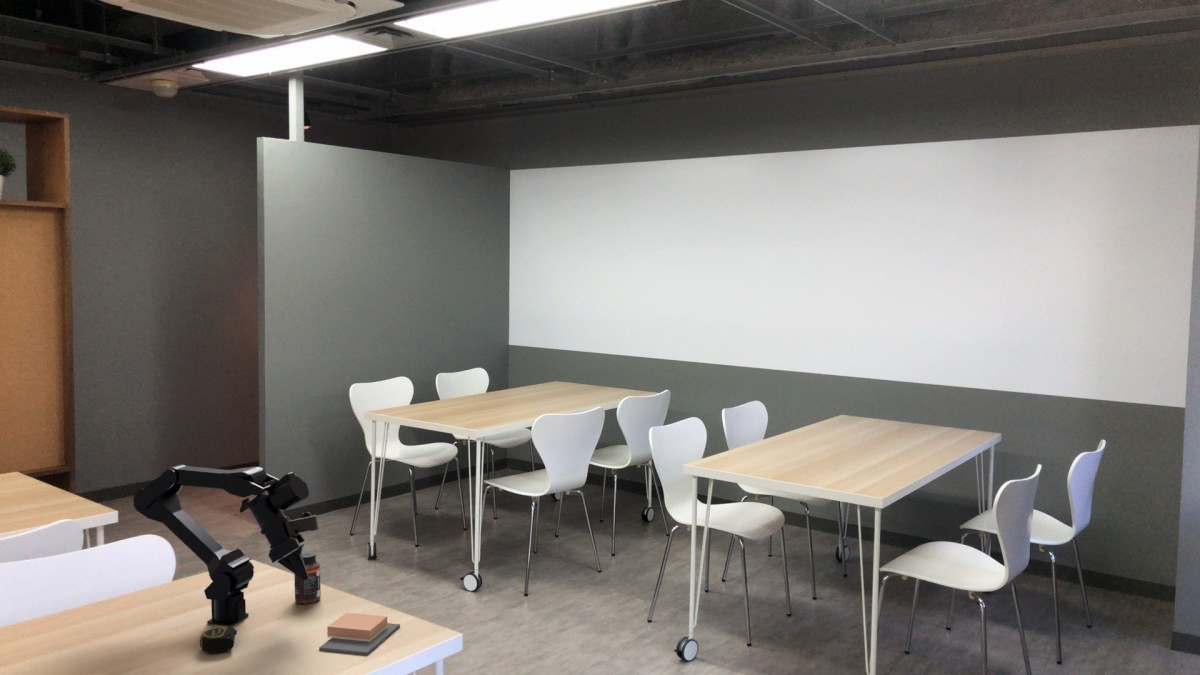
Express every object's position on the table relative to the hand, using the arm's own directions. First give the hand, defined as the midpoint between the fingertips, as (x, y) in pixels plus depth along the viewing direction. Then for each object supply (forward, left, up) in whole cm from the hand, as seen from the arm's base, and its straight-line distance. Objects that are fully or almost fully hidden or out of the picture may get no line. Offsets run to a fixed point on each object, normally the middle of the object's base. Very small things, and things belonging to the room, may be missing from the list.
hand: (306, 579), depth 190 cm
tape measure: (-11, -15, -11) cm, 21 cm away
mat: (+15, -4, -10) cm, 19 cm away
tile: (+9, -3, -9) cm, 13 cm away
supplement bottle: (-8, +13, -11) cm, 19 cm away
